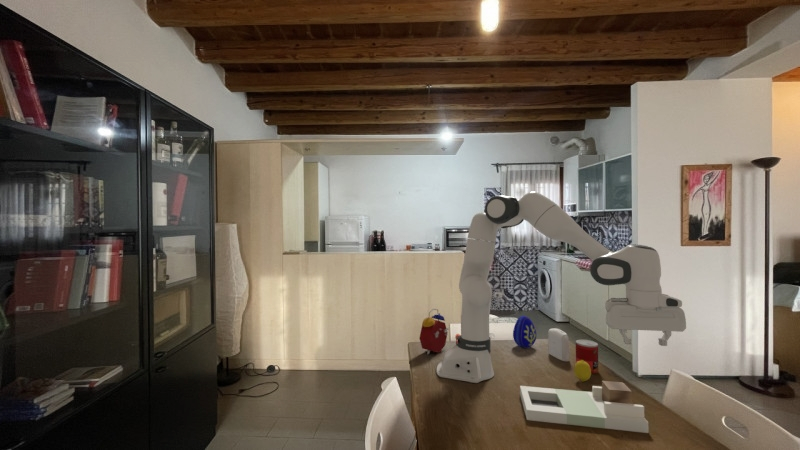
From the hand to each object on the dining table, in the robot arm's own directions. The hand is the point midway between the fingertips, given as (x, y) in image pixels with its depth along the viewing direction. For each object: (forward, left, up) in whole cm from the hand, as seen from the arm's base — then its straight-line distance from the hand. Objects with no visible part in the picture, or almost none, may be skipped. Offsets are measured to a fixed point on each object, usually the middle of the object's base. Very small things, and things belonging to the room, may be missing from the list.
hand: (645, 344), depth 102 cm
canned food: (-6, +35, -22) cm, 42 cm away
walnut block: (-8, 0, -19) cm, 21 cm away
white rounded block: (-14, +47, -22) cm, 54 cm away
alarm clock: (-68, +43, -22) cm, 83 cm away
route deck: (-19, 0, -22) cm, 29 cm away
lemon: (-11, +23, -22) cm, 34 cm away
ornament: (-27, +58, -22) cm, 67 cm away
